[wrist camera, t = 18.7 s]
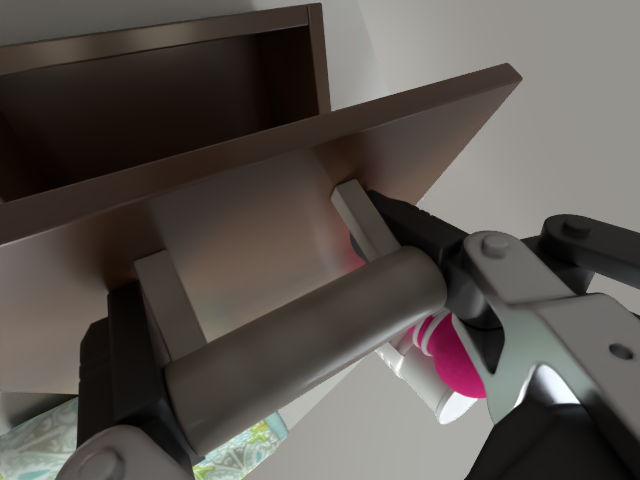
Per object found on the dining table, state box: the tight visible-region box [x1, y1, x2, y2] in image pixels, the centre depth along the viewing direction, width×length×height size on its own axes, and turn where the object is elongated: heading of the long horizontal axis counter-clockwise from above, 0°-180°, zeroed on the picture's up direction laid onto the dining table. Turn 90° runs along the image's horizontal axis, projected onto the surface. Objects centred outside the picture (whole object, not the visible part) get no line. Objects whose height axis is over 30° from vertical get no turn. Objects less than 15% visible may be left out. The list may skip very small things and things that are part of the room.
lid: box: [0, 63, 523, 457], centre depth 13 cm, size 17×16×5 cm
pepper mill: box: [365, 263, 486, 399], centre depth 28 cm, size 7×7×20 cm
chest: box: [0, 2, 331, 204], centre depth 20 cm, size 17×16×8 cm
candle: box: [374, 330, 478, 424], centre depth 36 cm, size 7×7×15 cm
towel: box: [0, 397, 289, 480], centre depth 32 cm, size 18×21×5 cm
